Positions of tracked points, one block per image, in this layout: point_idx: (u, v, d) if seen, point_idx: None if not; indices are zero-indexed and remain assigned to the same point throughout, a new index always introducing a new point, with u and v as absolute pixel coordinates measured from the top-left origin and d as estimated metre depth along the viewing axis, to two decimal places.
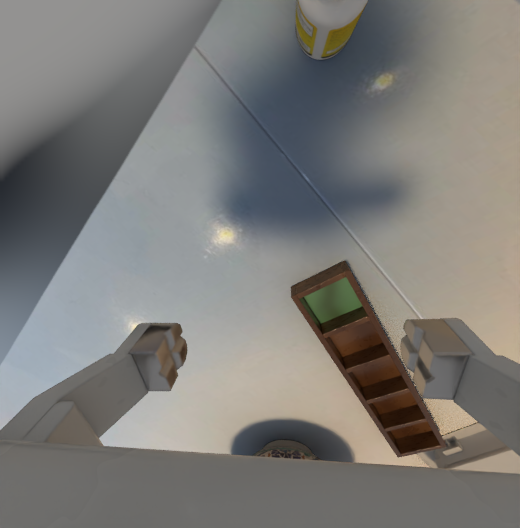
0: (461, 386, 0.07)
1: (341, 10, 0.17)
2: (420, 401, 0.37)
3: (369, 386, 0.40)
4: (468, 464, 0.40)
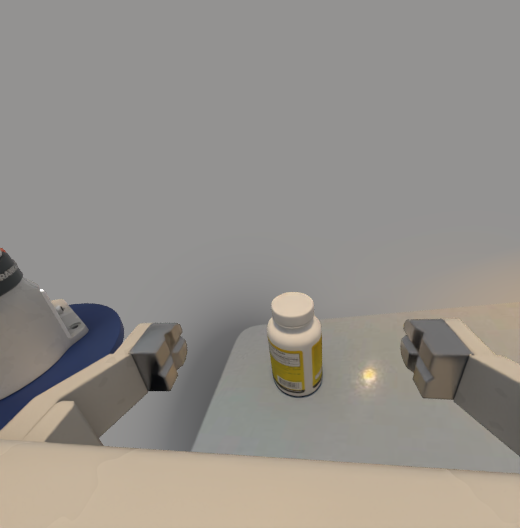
0: (461, 386, 0.07)
1: (311, 330, 0.22)
2: None
3: None
4: None
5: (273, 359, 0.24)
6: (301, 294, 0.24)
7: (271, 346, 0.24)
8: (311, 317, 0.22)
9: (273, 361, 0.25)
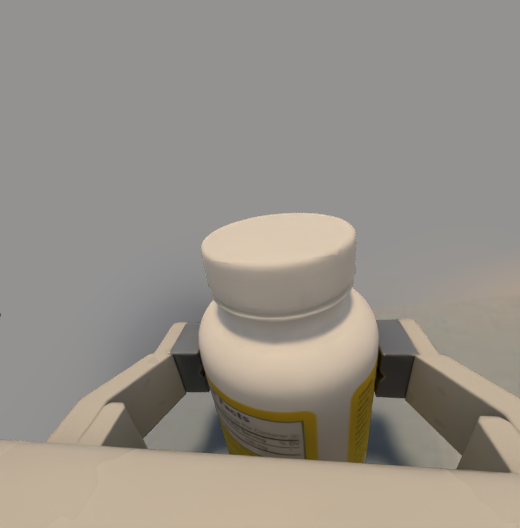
0: (410, 385, 0.07)
1: (349, 330, 0.06)
2: None
3: None
4: None
5: (220, 422, 0.08)
6: (307, 214, 0.08)
7: None
8: (350, 277, 0.06)
9: None
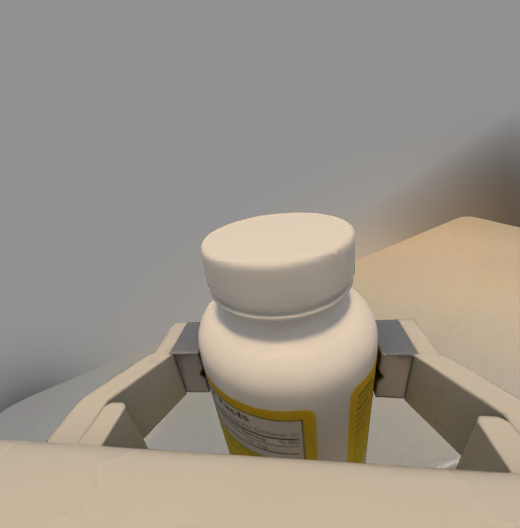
0: (409, 385, 0.07)
1: (348, 329, 0.06)
2: None
3: None
4: None
5: (220, 421, 0.08)
6: (307, 214, 0.08)
7: (208, 382, 0.07)
8: (349, 277, 0.06)
9: (221, 426, 0.08)
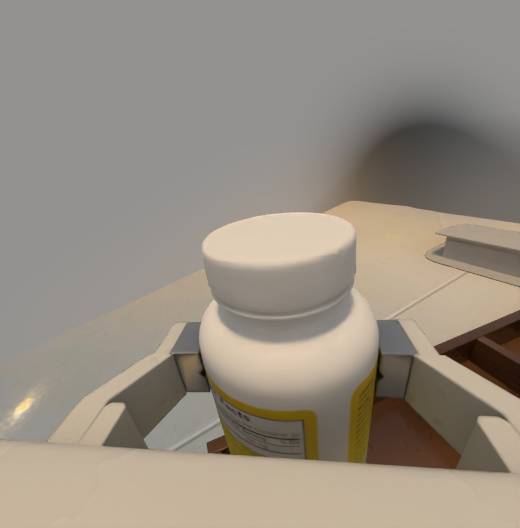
0: (409, 385, 0.07)
1: (349, 329, 0.06)
2: (496, 322, 0.21)
3: None
4: None
5: (221, 421, 0.08)
6: (308, 213, 0.08)
7: (209, 381, 0.07)
8: (350, 276, 0.06)
9: (222, 426, 0.08)
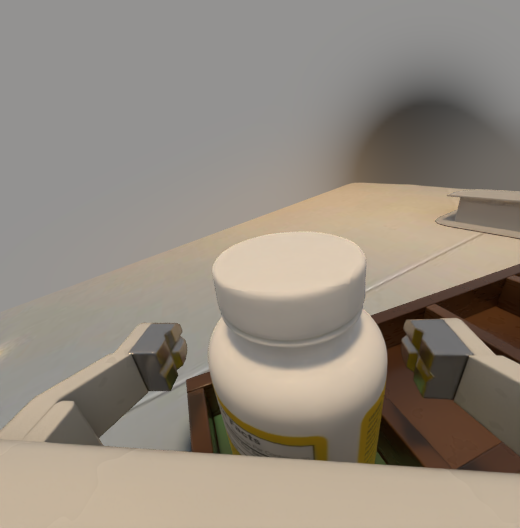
0: (461, 386, 0.07)
1: (359, 354, 0.06)
2: None
3: None
4: None
5: (229, 439, 0.08)
6: (316, 233, 0.08)
7: (218, 401, 0.07)
8: (360, 302, 0.06)
9: (230, 443, 0.08)
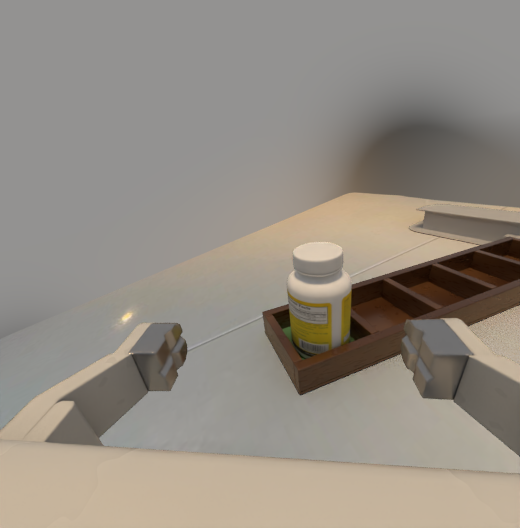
0: (461, 386, 0.07)
1: (341, 280, 0.19)
2: (447, 256, 0.32)
3: None
4: (514, 221, 0.37)
5: (294, 319, 0.21)
6: (326, 242, 0.21)
7: (293, 302, 0.20)
8: (341, 264, 0.19)
9: (294, 321, 0.21)
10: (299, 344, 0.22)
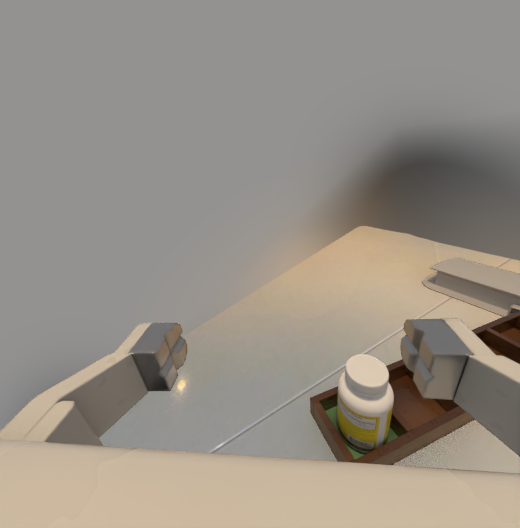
0: (461, 386, 0.07)
1: (387, 396, 0.24)
2: None
3: None
4: None
5: (345, 419, 0.26)
6: (372, 357, 0.25)
7: (345, 408, 0.25)
8: (387, 384, 0.24)
9: (345, 421, 0.26)
10: (347, 437, 0.26)
